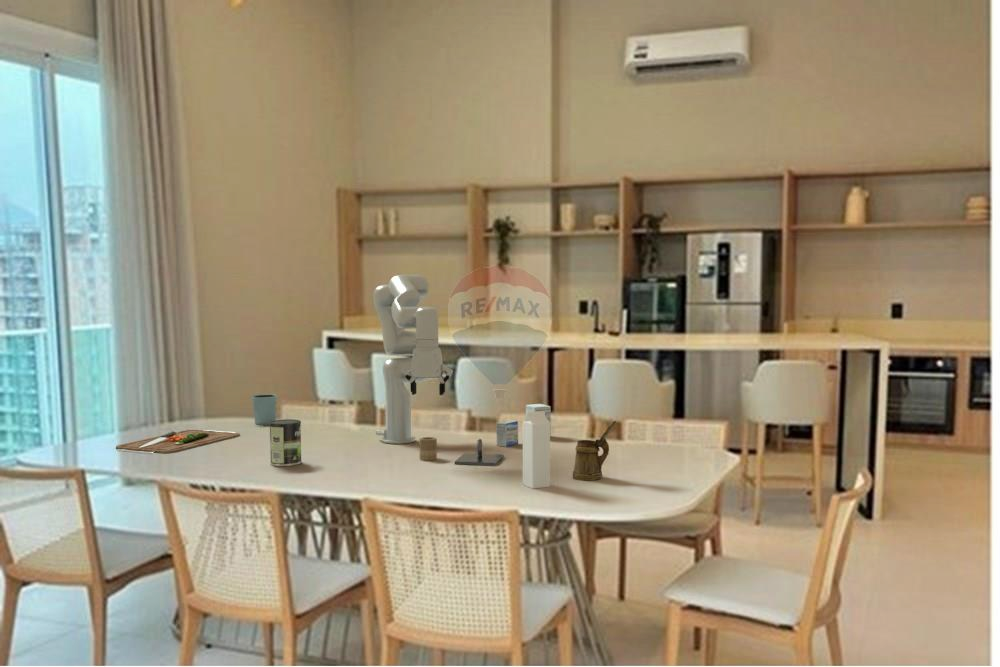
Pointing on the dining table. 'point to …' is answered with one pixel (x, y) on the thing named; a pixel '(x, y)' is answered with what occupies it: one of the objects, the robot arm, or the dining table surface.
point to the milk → (536, 450)
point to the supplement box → (540, 408)
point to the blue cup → (264, 408)
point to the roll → (428, 448)
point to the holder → (479, 457)
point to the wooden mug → (591, 457)
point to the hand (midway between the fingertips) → (427, 394)
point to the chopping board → (176, 441)
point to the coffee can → (285, 442)
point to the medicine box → (507, 433)
